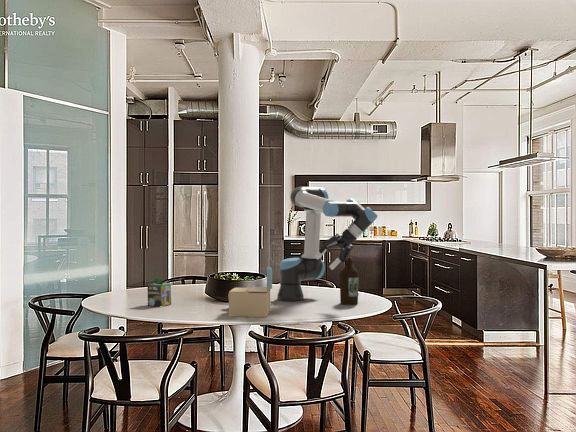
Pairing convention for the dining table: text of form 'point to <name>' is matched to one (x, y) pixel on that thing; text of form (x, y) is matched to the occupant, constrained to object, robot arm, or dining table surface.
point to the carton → (248, 303)
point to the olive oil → (349, 284)
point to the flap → (269, 283)
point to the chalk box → (159, 293)
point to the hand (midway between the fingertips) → (323, 263)
